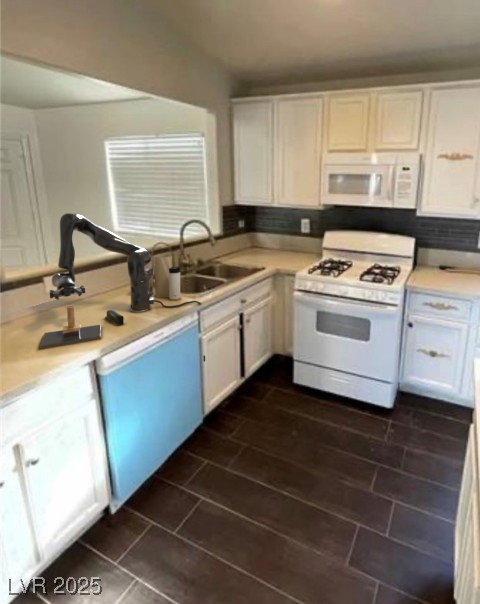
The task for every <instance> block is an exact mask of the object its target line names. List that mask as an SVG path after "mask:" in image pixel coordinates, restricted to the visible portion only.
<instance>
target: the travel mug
mask: <svg viewBox="0 0 480 604" xmlns="http://www.w3.org/2000/svg"><path fill="white" fill-rule="evenodd" d="M169 296H170V297H168V298H169V300H170V301H179V300H181V266H172V267H171V268H169Z"/></svg>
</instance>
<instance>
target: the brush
mask: <svg viewBox="0 0 480 604" xmlns="http://www.w3.org/2000/svg"><path fill="white" fill-rule="evenodd" d="M66 316H67V317H66V318H67V325H65V326H62V330H63V335H64V337H69V336H75V335H80V328H81V323H78V324H76V321H75V320H76V319H75V306H74V305H68V306H67V307H66Z"/></svg>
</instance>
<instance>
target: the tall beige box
mask: <svg viewBox="0 0 480 604" xmlns="http://www.w3.org/2000/svg"><path fill="white" fill-rule="evenodd" d="M153 257H154V288H155V289H154V292H155V293H154V294H155V295H154V296H155V298H159V299H164V298H169V297H170V296H169V268H171V267H173V255H172V254H170V253H158V254H156V255H154V256H153Z"/></svg>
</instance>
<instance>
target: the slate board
mask: <svg viewBox="0 0 480 604" xmlns="http://www.w3.org/2000/svg"><path fill="white" fill-rule="evenodd" d="M101 331H102V326H101V324H95V325H94V324H93V325H89V326H82V327H81V326H80V335H75V336H69V337H64V335H63V329H61V330H55V331H54V330H53V331H49V332H44V334H43V336H42V338H41V343H40V345H39V349H40V350H44V349H50V348H56V347H63V346H67V345H74V344H79V343H85V342H92V341H97V340H101V334H102V333H101Z"/></svg>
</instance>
